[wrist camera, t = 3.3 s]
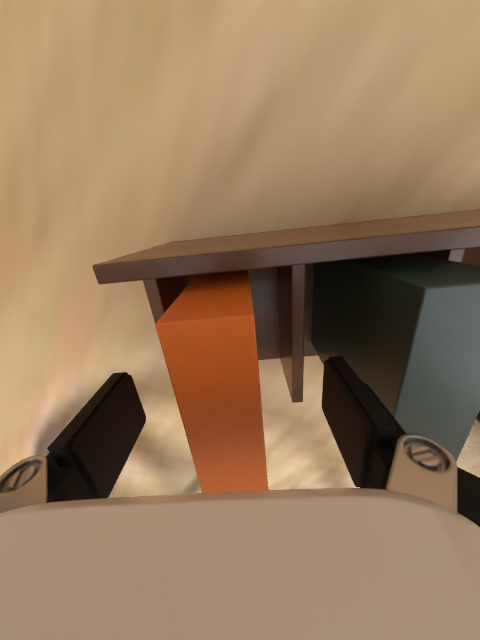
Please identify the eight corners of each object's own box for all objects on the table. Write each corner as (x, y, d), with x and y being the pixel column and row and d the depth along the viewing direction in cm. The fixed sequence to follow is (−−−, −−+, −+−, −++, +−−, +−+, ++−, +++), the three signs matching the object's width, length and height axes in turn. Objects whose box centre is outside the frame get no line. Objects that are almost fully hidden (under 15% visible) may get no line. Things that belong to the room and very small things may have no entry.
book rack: (170, 242, 19) (90, 265, 9) (509, 206, 17) (855, 187, 8) (195, 360, 24) (162, 460, 14) (462, 339, 22) (637, 433, 12)
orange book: (210, 257, 19) (153, 323, 7) (246, 254, 18) (254, 314, 6) (224, 351, 22) (204, 502, 10) (254, 349, 22) (269, 499, 10)
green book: (314, 247, 18) (425, 287, 7) (358, 242, 18) (541, 277, 7) (310, 344, 22) (380, 470, 11) (347, 342, 22) (455, 466, 11)
